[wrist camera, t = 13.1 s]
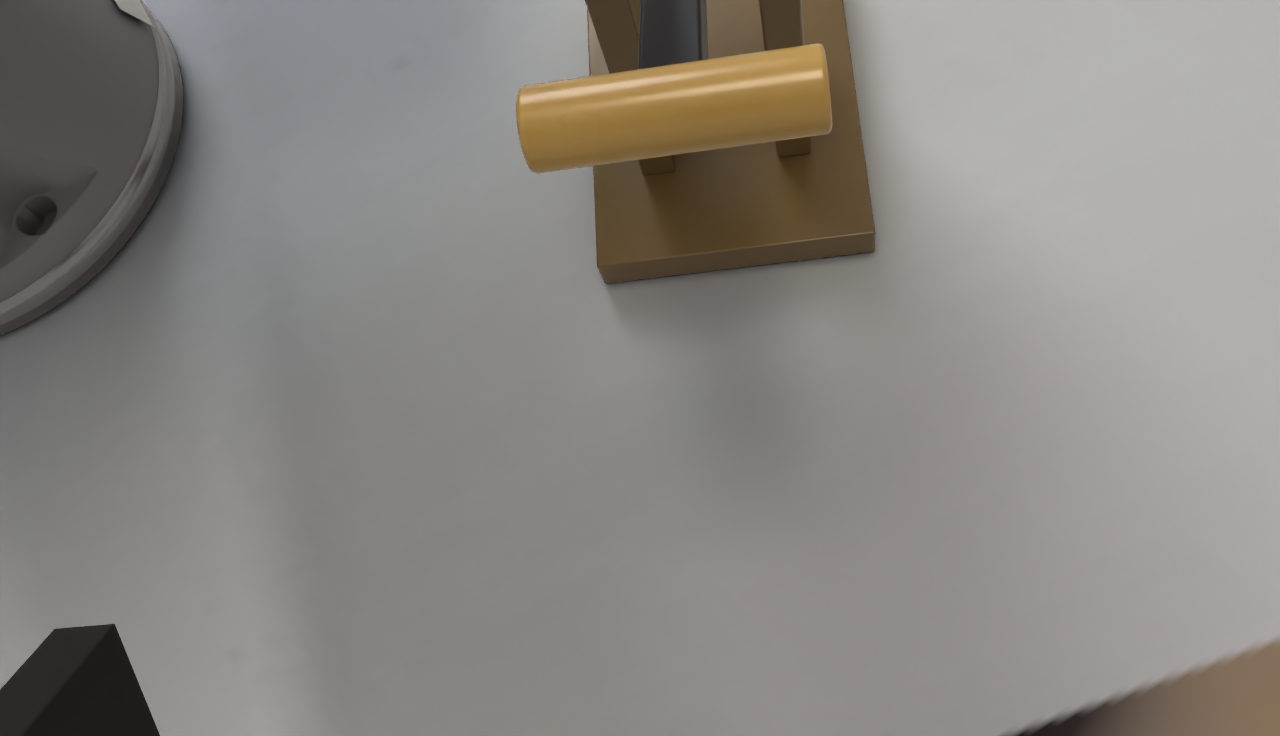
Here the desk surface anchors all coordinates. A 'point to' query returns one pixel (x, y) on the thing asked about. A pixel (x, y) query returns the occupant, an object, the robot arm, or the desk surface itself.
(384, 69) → the desk surface
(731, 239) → the bracket
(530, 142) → the pivoting switch lever
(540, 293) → the desk surface
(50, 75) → the robot arm
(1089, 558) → the desk surface
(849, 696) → the desk surface
